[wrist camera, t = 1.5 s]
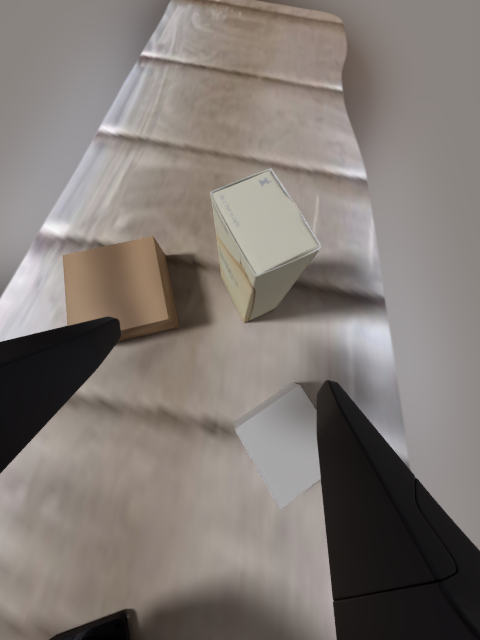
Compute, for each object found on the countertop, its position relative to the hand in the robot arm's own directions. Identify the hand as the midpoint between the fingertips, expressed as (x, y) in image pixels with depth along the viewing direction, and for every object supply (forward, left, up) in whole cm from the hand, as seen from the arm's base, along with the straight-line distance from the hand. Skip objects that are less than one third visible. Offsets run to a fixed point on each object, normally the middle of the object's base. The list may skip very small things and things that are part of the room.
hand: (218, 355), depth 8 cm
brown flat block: (-9, +10, -14) cm, 19 cm away
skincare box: (+4, +7, -13) cm, 16 cm away
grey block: (+3, -8, -14) cm, 16 cm away
